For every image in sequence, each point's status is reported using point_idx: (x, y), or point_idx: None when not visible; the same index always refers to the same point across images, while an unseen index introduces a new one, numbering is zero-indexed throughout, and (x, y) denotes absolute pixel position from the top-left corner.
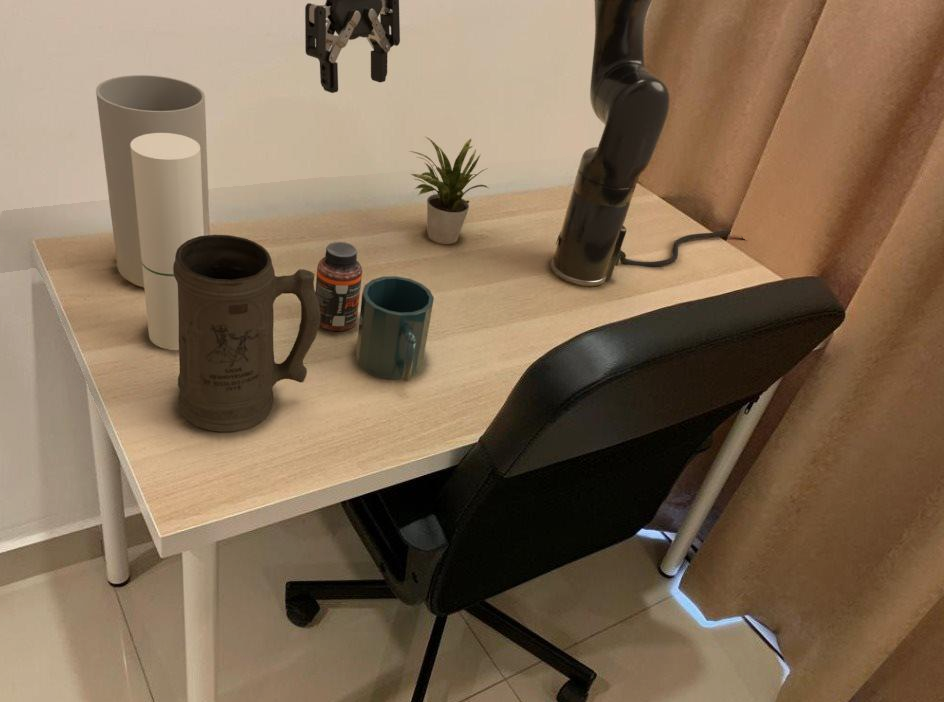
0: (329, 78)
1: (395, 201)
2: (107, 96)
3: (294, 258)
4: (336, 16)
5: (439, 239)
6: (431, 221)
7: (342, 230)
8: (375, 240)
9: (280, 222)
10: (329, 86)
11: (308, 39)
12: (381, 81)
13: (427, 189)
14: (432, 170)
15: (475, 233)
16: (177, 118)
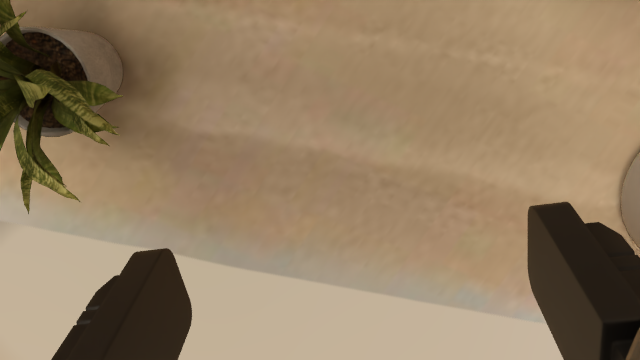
0: (623, 259)
1: (116, 234)
2: None
3: (451, 119)
4: None
5: (108, 45)
6: (106, 76)
7: (290, 177)
8: (245, 114)
9: (392, 251)
10: (600, 230)
11: None
12: (166, 249)
13: (88, 95)
14: (22, 178)
15: None
16: None
